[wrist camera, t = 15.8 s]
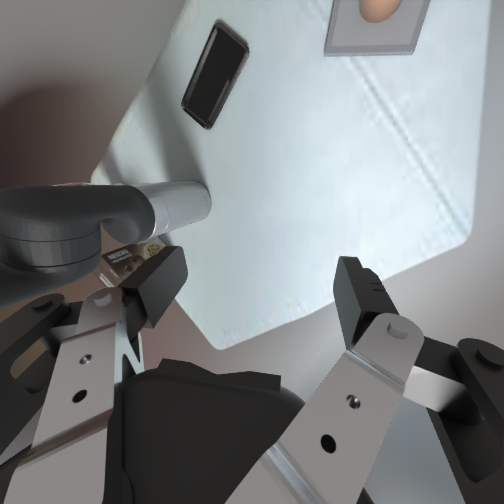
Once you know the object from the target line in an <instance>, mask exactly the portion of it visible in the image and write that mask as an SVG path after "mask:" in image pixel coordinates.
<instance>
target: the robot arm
mask: <svg viewBox="0 0 504 504" xmlns="http://www.w3.org/2000/svg"><path fill="white" fill-rule="evenodd" d="M210 209H211V199H210V195H209V193H208V191H207V190H206V188H205V187H204V186H203V185H202V184H200V183H199V182H196V181H177V182H161V183H146V184H132V185H86V186H23V187H11V188H7V189H2V190H0V309H3V308H5V307H8V306H11V305H13V304H16V303H19V302H22V301H25V300H27V299H30V298H33V297H36V296H38V295H41V294H43V293H47V292H49V291H52V290H55V289H57V288H60V287H62V286H65V285H67V284H70V283H72V282H75V281H77V280H79V279H81V278H83V277H85V276H86V275H88V274H89V273H91V272H92V271H94V270H95V269H96V268H97V266H98V265H99V263H100V260H101V231H100V223H101V225H102V226H103V228H104V229H105V230H106V232H107V233H108V234H109V235H110V236H111V237H112V238H114V239H115V240H117V241H118V242H121V243H123V244H136V243H139V242H142V241H145V240H147V239H150V238H153V237H156V236H158V235H161V234H164V233H166V232H169V231H172V230H175V229H178V228H180V227H183V226H186V225H189V224H192V223H194V222H197V221H200V220H202V219H204V218H205V217H206V216H207V215H208V214H209V212H210ZM187 276H188V270H187V265H186V261H185V256H184V252H183V249H182V247H181V246H168V245H167V246H165V247H164V248H163V249H162V250H161V251H160V252H158V253H157V254H155V255H153V256H152V257H150V258H148V259H147V260H145V261H144V262H143V263H142V264H141V266H139V267H138V268H137V269H136V271H133V272H132V273H131V274H130V275H129V276H128V277H127V278H126V279H125V280H123V281H122V282H121V283H120V284H119V285H118V286H117V287H107V288H103V289H100V290H97V291H95V292H93V293H92V294H91V295H89V296H88V297H86V299H85V300H84V301H80V302H73V303H68V302H67V300H66V299H65V297H64V295H62V294H58V293H57V294H49V295H45V296H42V297H40V298H37V299H35V300H33V301H32V302H30V303H28V304H27V305H25V306H24V307H22V308H21V309H20V310H18V311H17V312H15V313H14V314H13V315H11V316H10V317H8V318H7V319H5V320H4V321H3V322H1V323H0V455H1V454H2V453H3V452H4V450H5V449H6V448H7V447H8V446H9V444H10V443H11V442H12V441H13V440H14V438H15V437H16V436H17V435H18V434H19V433H20V431H21V430H22V429H23V428H24V427H25V425H26V424H27V423H28V422H29V421H30V419H31V418H32V417H33V416H34V415H35V414H36V412H37V411H38V410H39V409H40V408H41V406H42V405H43V404H44V406H43V409H42V413H41V416H40V420H39V423H38V427H37V430H36V434H35V438H34V441H33V443H32V444H31V445H29V446H28V447H26V448H25V449H23V450H22V451H20V452H19V453H17V454H16V455H15V456H13V457H12V458H10V459H8V460H7V461H6V462H4V463H3V464H2V465H0V504H374V503H373V501H372V500H371V498H370V496H369V495H368V494H367V492H366V490H365V489H364V487H363V486H364V484H365V482H366V479H367V477H368V475H369V472H370V470H371V468H372V465H373V463H374V461H375V458H376V456H377V454H378V452H379V449H380V447H381V445H382V442H383V440H384V438H385V435H386V433H387V431H388V428H389V426H390V424H391V421H392V419H393V417H394V414H395V412H396V410H397V407H398V405H399V403H400V400H401V398H402V396H403V397H405V398H407V399H410V400H412V401H414V402H417V403H419V404H421V405H423V406H426V408H427V411H428V413H429V416H430V418H431V421H432V423H433V425H434V428H435V430H436V433H437V435H438V438H439V440H440V442H441V445H442V448H443V450H444V452H445V455H446V457H447V459H448V462H449V464H450V467H451V469H452V472H453V474H454V477H455V479H456V482H457V484H458V486H459V489H460V491H461V494H462V496H463V499H464V501H465V503H466V504H504V350H502V349H500V348H499V347H497V346H495V345H493V344H490V343H488V342H485V341H482V340H479V339H472V338H465V339H462V340H460V341H459V342H458V344H457V345H456V347H455V346H451V345H449V344H446V343H443V342H439V341H437V340H433V339H431V338H428V337H425V336H424V335H423V333H422V331H421V330H420V328H419V327H418V326H417V325H416V324H414V323H413V322H412V321H410V320H409V319H407V318H405V317H402V316H400V315H399V313H398V311H397V309H396V307H395V306H394V304H393V302H392V300H391V299H390V297H389V295H388V293H387V292H386V290H385V288H384V286H383V285H382V282H381V281H380V279H379V277H378V275H376V274H375V273H374V272H373V271H372V270H370V269H369V268H363V267H362V265H361V263H360V261H359V259H358V258H357V257H347V256H340V257H339V260H338V264H337V269H336V274H335V279H334V284H333V293H334V298H335V302H336V307H337V311H338V315H339V319H340V324H341V327H342V332H343V336H344V341H345V345H346V349H347V350H346V351H345V353H344V354H343V355H342V357H341V358H340V359H339V360H338V362H337V363H336V364H335V365H334V367H333V368H332V370H331V371H330V372H329V374H328V375H327V376H326V377H325V379H324V380H323V381H322V383H321V384H320V385H319V387H318V388H317V389H316V391H315V392H314V393H313V395H312V396H311V397H310V399H309V400H308V401H307V402H306V403H305V402H304V401H303V400H302V399H301V398H299V397H298V396H297V395H296V394H295V393H293V392H291V391H290V390H288V389H286V388H284V387H281V386H280V382H281V376H280V375H273V374H266V373H259V372H252V371H246V372H237V373H228V374H214V373H212V372H210V371H208V370H205V369H203V368H201V367H199V366H197V365H195V364H193V363H190V362H185V361H178V360H171V359H165V358H163V359H162V361H161V362H160V364H159V366H158V368H155V369H150V370H147V371H144V364H143V353H142V343H141V335H140V332H139V331H140V330H141V329H142V327H143V328H151V329H153V328H154V327H155V325H156V324H157V322H158V321H159V319H160V318H161V316H162V315H163V314H164V312H165V311H166V309H167V308H168V306H169V305H170V304H171V302H172V301H173V299H174V298H175V296H176V295H177V293H178V292H179V291H180V289H181V288H182V286H183V285H184V283H185V282H186V280H187ZM37 340H39V341H40V342H41V343H42V345H43V346H44V347H45V348H46V351H45V352H44V353H43V354H41V355H40V356H39V357H38V358H37V359H36V361H34V362H33V363H32V364H31V365H30V366H29V367H28V368H27V369H26V370H25V371H24V372H23V373H22V374H21V375H20V376H19V377H18V378H17V379H16V380H15V379H14V378H13V377H12V375H11V374H10V368H11V366H12V364H13V362H14V361H15V360H16V359H17V358H18V357H19V356H20V355H21V354H22V353H24V352H25V351H26V350H27V349H28V348H29V347H30V346H31V345H32V344H34V343H35V342H36V341H37Z"/></svg>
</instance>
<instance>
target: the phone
mask: <svg viewBox="0 0 504 504" xmlns="http://www.w3.org/2000/svg"><path fill="white" fill-rule="evenodd" d="M248 57H249V49H248V47H247V46H246V44H245V43H244V42H242V41H241V40H240V39H239V38H238V37H236V36H235V35H234V34H233V33H232V32H231V31H229V30H228V29H227V28H226V27H225V26H224V25H222V24H221V23H216V24H215V25H214V27H213V29H212V31H211V34H210V36H209V38H208V41H207V43H206V45H205V48H204V50H203V52H202V55H201V57H200V60H199V62H198V64H197V67H196V69H195V71H194V74H193V76H192V79H191V81H190V83H189V86H188V88H187V90H186V93H185V95H184V97H183V100H182V103H181V105H182V109H183V110H184V111H185V112H186V113H187V114H189V115H190V116H191V117H192V118H193V119H194V120H195V121H196V122H198V123H199V124H200V125H201V126H202V127H203V128H205V129H208V130H209V129H211V128H212V127H213V125H214V123H215V121H216V119H217V117H218V115H219V113H220V111H221V109H222V108H223V105H224V103H225V102H226V100H227V98H228V96H229V94H230V92H231V90H232V88H233V86H234V84H235V82H236V80H237V78H238V77H239V75H240V73H241V71H242V69H243V67H244V65H245V63H246V61H247V59H248Z"/></svg>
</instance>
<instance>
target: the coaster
mask: <svg viewBox="0 0 504 504" xmlns="http://www.w3.org/2000/svg"><path fill="white" fill-rule="evenodd" d="M429 3H430V0H403V1H402V3H401V4H400V6H399V7H398V9H397V10H396V11H395V12H394V13H393V14H392V15H391V16H390V17H389V18H387V19H386V20H384V21H381V22H378V23H370V22H367V21H366V20H365V19H363V17H362V16H361V14H360V10H359V0H335V1H334V6H333V11H332V17H331V22H330V27H329V32H328V37H327V42H326V48H325V53H324V54H325V56H382V55H412V54H413V53H414V50H415V47H416V44H417V41H418V38H419V35H420V32H421V28H422V25H423V22H424V19H425V16H426V13H427V10H428V6H429Z"/></svg>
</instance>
